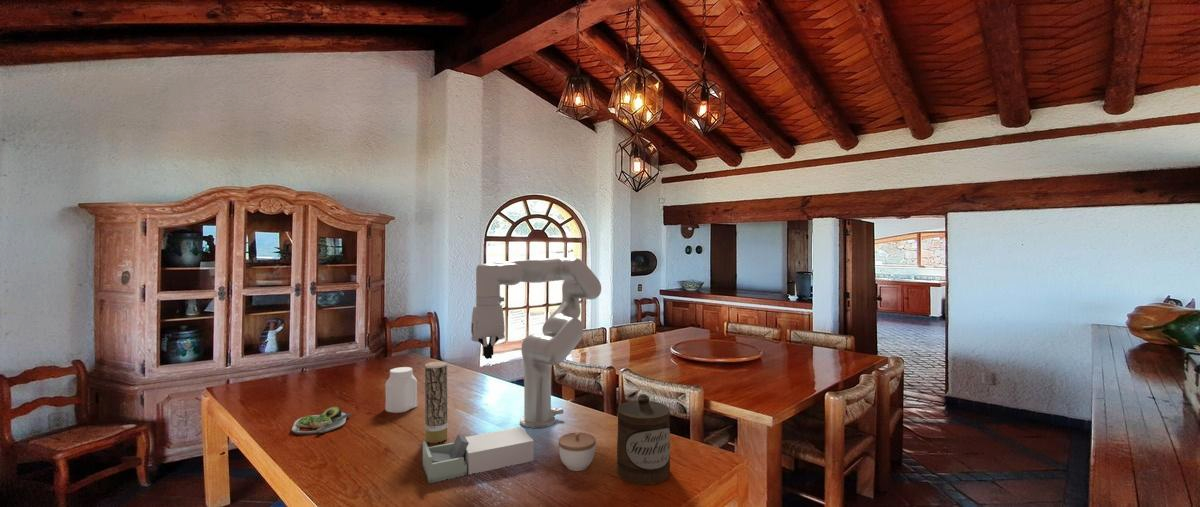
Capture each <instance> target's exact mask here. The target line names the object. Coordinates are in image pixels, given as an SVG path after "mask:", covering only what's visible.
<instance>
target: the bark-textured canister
mask: <svg viewBox="0 0 1200 507" xmlns="http://www.w3.org/2000/svg"><path fill="white" fill-rule="evenodd" d="M424 365H425V366H424V380H425V382H424V390H425V393H424V394H425V395H424V396H425V397H424V400H425V403H424V404H425V406H424V407H425V408H424V409H425V411H424V413H425V415H424V416H425V418H424V419H425V420H424V422H425V424H424V425H425V441H426V443H428V442H429V444H439V443H438V442H440V443H443V442H445V441H446V440H447V439H448V362H446V361H430V362H428V363H425V364H424ZM444 440H445V441H444ZM442 441H443V442H442Z"/></svg>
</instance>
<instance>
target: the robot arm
mask: <svg viewBox="0 0 1200 507" xmlns="http://www.w3.org/2000/svg"><path fill="white" fill-rule="evenodd" d="M475 273H476V274H475V276H476V277H475V279H476V280H475V282H476V283H475V287H476V288H475V289H476V290H475V294H476V296H475V299H476V300H475V301H476V302H475V305H473V308H472V312H471V313H472V314H471V322H470V323H471V324H470V333H471V338H470V340H471V341H472V342H475V343H477V342H478V343H480V344H481V345H482V356H483V357H484V358H485V359H486V360H488V359H490V360H491V359H492V358H493V356H494V346H495V345H496V343H498V341H500V340H503V339H505V318H504V310H503V306H502V304H501V303H502V302H505V298H504V297H502V296H501V285H503V286H515V285H518V284H520V283H530V284H531V283H533V284H535V283H536V284H537V283H540V284H541V283H548V282H555V281H563V283H562V286H561V288H562V289H561V290H562V291H561V292H562V298H561V300H562V301H561V304H560V305H559V306H558V307H557V309H556V310H555V311H554V312H553V313H552V314H551V315H550V316H549V317H548V318H547V319H546V321H545V322H544V324H543V326H542V330H541V331H542V334H539V333H532V334H528V335H527V336H526V337H524V339H523V340H522V343H521V357H522V361H523V367H524V368H523V369H524V370H523V371H524V372H523V374H524V376H523V377H524V379H523V381H524V383H523V385H524V388H523V389H524V390H523V393H524V395H523V396H524V399H523V400H524V403H523V404H524V405H523V406H524V407H523V408H524V413H523V414H524V415H523V416H521V417H520V418H519V424H520V425H521V426H523V427H526V428H530V429H538V428H539V429H541V428H545V427H546V428H547V427H550V426H551V425H553V424H554V423H555V422H556V415H563V414H564V408H563V407H562V408H558V407H552V404H551V403H552V397H551V396H552V371H551V367H550V365H551V366H556V365H560V364H561V363H562V362H564V361H565V359H567V357H568V356H569V355H570V354H571V353H572V351H573V350H574V349H575V347H576V346H577V345H579V343H580V341H581V339H582V337H583V335H584V324H583V323H582V321H581V320H580V319H579V317H580V315H581V306H580V300H581V299H583V300H595V299H598V297H599V296H600V295H601V293H602V283H601V281H600V279H599V278H598V277H597V275H595V273H594V272H593V271H592V269H590V267H589V266H588V265H587V264H586V263H585V262H584V261H583V260H581V259H580V258H577V257H551V258H550V257H549V258H538V259H537V258H534V259H525V260H510V261H495V262H491V263H481V264H480V263H479V264H477V266H476V269H475ZM487 338H489V340H488V339H487Z"/></svg>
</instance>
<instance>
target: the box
mask: <svg viewBox="0 0 1200 507" xmlns="http://www.w3.org/2000/svg"><path fill="white" fill-rule="evenodd" d="M453 444H454V442H450V443H444V444H436V445H434V446H428V442H427V441H426V440H422V467H423V470H424V472H425V475H426V479H427V481H428V484H434V483H437V482H442V480H443V481H447V480H446V479H448V480H451V479H455V478H456V477H457V478H461V477H465V476H464V475H466V476H468V473H467V464H466V462H465V460H464V457H460V458H455V459H450V460H445V461H440V462H435V463H432V456H431V453H430V452H432V453H442V454H449V453H450V451H451V448H452V446H453ZM460 476H461V477H460Z"/></svg>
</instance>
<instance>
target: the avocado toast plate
mask: <svg viewBox="0 0 1200 507" xmlns="http://www.w3.org/2000/svg"><path fill="white" fill-rule="evenodd" d="M350 415H352V412H348V413H345V412H342V409H341V408H340V407H339V406H331V407H328V408H326V409H324V410H323V411H322V412H321V413H320V414H315V415H313V414H312V415H309V414H308V415H306V416H302V417H300V418H298V419H296V420H295V421H294V423H293V425H292V427H291V432H293V433H295V434H297V435H303V436H304V435H305V436H306V435H313V434H322V433H324V434H325V433H326V432H327V433H328V432H330V431H333V430H335V429H338V428H340V427H342V426H343V425H344V424H345V423H346V421H347V419H348V417H350ZM300 428H302V429H303V428H305V429H306V428H307V429H310V428H311V430H304V431H303V430H301V429H300Z"/></svg>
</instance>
